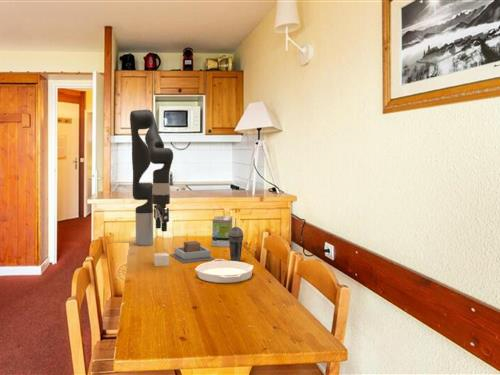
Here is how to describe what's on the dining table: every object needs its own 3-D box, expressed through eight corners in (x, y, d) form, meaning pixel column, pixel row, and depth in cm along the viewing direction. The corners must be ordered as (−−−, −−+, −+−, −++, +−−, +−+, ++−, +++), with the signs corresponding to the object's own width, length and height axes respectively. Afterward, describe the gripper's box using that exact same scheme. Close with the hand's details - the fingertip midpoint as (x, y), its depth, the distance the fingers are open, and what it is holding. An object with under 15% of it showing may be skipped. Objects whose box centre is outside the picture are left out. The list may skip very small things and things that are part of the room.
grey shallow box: (170, 255, 214) (170, 247, 214) (200, 251, 222) (200, 244, 222) (182, 263, 199) (182, 254, 198) (215, 259, 206) (215, 251, 206)
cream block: (153, 263, 199) (153, 253, 198) (167, 262, 201) (167, 252, 200) (155, 266, 193) (155, 256, 193) (169, 265, 195) (169, 255, 195)
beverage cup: (244, 258, 209) (244, 216, 207) (242, 262, 202) (242, 219, 200) (229, 258, 210) (229, 216, 208) (226, 261, 202) (227, 218, 201)
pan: (199, 287, 164) (199, 277, 164) (190, 269, 190) (190, 260, 190) (262, 283, 171) (263, 273, 170) (244, 265, 197) (245, 257, 196)
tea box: (230, 247, 234) (230, 219, 233) (211, 246, 235) (211, 219, 233) (232, 241, 249) (232, 215, 248) (214, 241, 250) (214, 215, 248)
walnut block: (183, 254, 211) (183, 241, 211) (195, 252, 214) (195, 240, 214) (188, 256, 206) (188, 244, 206) (200, 255, 209) (200, 243, 209)
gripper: (148, 192, 199) (148, 228, 200) (157, 194, 186) (157, 233, 188) (164, 191, 202) (164, 226, 204) (174, 194, 190) (174, 231, 191)
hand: (161, 229), depth 196 cm, fingers open, 8 cm apart
